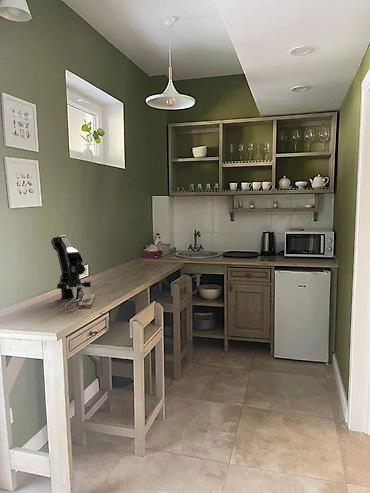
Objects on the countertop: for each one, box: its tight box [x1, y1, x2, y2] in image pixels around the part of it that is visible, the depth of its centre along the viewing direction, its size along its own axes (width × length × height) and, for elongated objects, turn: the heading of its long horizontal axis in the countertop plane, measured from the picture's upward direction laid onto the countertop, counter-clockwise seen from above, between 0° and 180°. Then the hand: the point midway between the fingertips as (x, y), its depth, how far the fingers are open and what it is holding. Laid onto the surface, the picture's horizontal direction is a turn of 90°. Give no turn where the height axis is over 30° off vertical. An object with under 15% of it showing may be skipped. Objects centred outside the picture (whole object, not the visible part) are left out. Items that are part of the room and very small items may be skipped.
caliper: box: [63, 289, 85, 308], centre depth 221 cm, size 20×1×6 cm, turn 165°
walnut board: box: [78, 294, 96, 309], centre depth 220 cm, size 6×24×2 cm, turn 8°
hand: (75, 299), depth 223 cm, fingers closed on caliper, 2 cm apart
